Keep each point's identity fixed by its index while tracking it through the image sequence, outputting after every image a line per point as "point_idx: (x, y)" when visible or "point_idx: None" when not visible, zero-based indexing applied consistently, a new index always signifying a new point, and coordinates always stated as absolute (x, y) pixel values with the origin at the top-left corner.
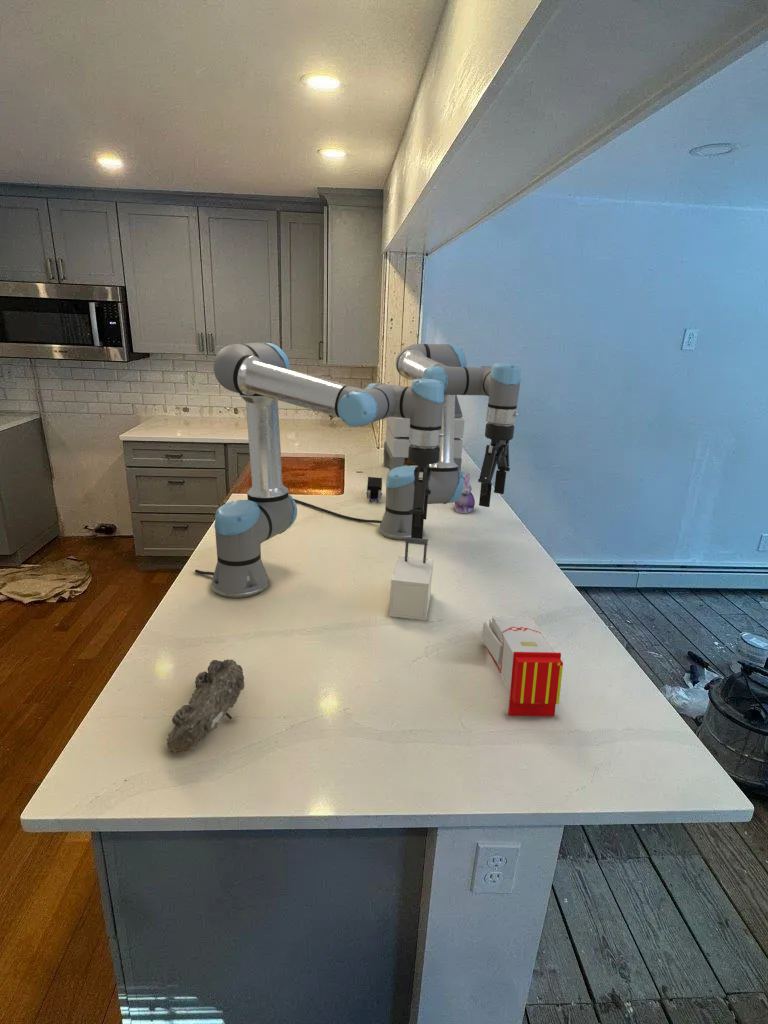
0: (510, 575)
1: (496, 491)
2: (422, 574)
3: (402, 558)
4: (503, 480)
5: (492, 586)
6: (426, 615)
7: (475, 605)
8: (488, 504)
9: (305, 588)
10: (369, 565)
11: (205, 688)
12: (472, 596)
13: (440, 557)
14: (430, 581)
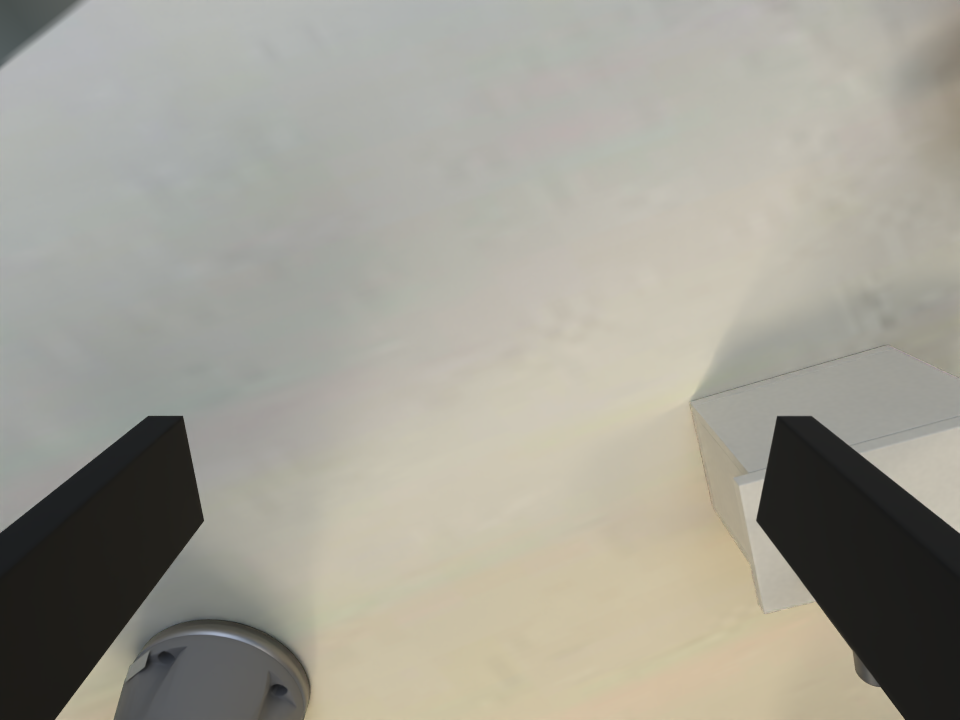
0: (323, 168)
1: (188, 505)
2: (929, 467)
3: (783, 595)
4: (52, 553)
5: (485, 210)
6: (899, 351)
7: (695, 220)
8: (833, 437)
9: (807, 717)
10: (562, 651)
11: None
12: (621, 257)
13: (343, 488)
14: (843, 423)
